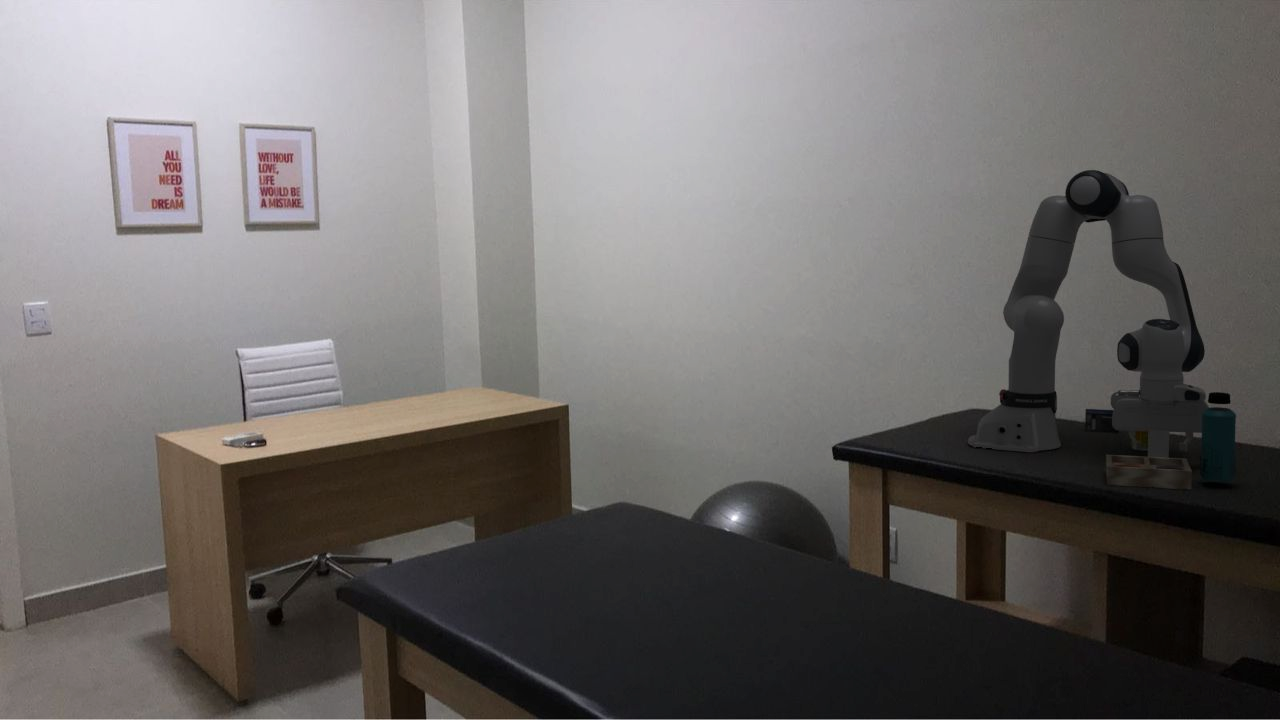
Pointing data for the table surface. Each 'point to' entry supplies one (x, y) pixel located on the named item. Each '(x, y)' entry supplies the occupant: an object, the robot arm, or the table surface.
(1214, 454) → the beverage bottle
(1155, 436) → the plug
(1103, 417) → the mini dv tape
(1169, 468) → the socket block
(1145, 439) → the supplement bottle
